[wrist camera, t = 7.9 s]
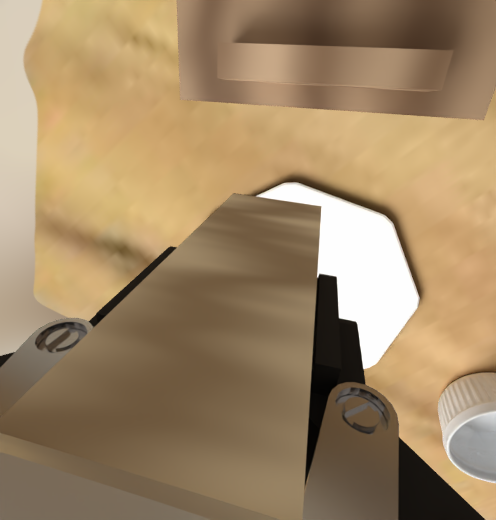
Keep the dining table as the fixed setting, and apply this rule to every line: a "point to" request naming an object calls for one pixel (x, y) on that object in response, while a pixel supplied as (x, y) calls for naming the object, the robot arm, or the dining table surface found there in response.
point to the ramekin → (470, 424)
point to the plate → (360, 266)
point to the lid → (341, 54)
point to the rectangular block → (199, 365)
